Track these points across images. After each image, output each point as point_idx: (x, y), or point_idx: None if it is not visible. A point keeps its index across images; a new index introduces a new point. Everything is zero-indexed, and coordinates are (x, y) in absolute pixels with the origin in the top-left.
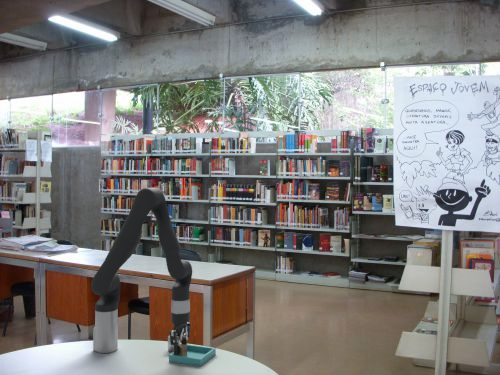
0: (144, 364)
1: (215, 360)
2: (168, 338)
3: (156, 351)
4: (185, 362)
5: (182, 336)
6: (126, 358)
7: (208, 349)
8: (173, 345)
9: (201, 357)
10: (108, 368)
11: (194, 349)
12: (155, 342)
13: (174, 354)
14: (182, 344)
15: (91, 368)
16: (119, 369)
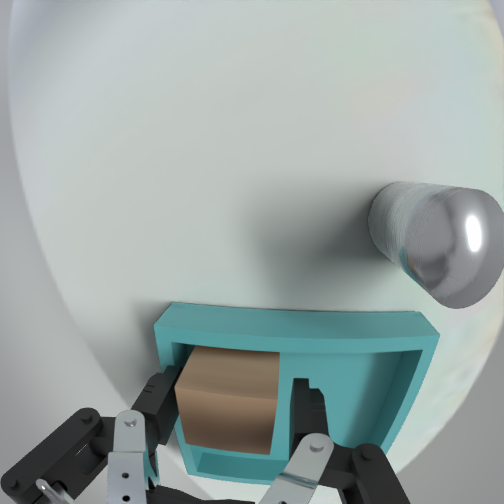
0: (83, 167)
1: None
2: (429, 209)
3: (351, 94)
4: None
5: (305, 471)
6: (141, 5)
7: None
8: (393, 258)
9: (213, 475)
10: (21, 56)
11: (394, 389)
12: (483, 41)
13: (197, 350)
14: (258, 432)
15: (23, 12)
16: (16, 104)
